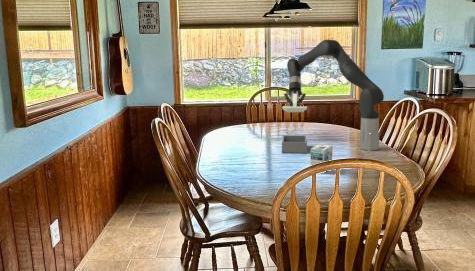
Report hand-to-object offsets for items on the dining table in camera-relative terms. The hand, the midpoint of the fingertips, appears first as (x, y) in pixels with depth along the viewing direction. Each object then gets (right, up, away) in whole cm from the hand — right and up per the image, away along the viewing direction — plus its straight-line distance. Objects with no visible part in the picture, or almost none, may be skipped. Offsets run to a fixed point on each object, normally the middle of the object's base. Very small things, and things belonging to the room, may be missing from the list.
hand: (294, 107), depth 261 cm
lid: (-1, -3, -6) cm, 6 cm away
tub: (-4, -25, -25) cm, 35 cm away
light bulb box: (+4, -33, -64) cm, 72 cm away
